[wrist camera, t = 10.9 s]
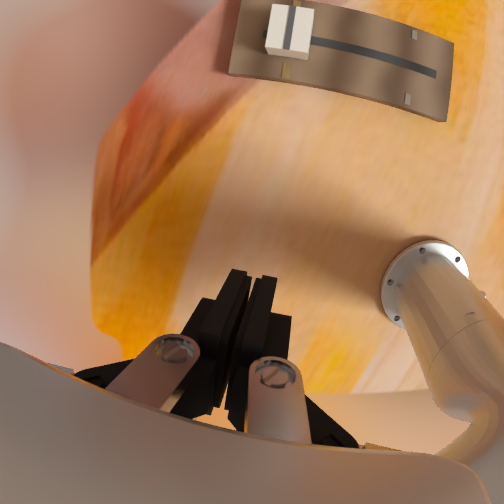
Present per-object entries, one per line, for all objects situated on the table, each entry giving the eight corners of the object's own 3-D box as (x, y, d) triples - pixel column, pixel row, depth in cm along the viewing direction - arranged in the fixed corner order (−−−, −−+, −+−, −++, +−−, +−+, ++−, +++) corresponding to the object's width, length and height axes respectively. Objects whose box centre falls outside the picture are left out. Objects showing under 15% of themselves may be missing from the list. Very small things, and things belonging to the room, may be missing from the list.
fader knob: (313, 19, 25) (314, 8, 22) (307, 60, 27) (307, 52, 24) (275, 14, 25) (272, 3, 22) (268, 54, 27) (264, 46, 24)
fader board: (447, 47, 25) (454, 43, 23) (439, 122, 28) (446, 121, 27) (245, 1, 27) (242, -6, 25) (232, 76, 31) (227, 72, 29)
